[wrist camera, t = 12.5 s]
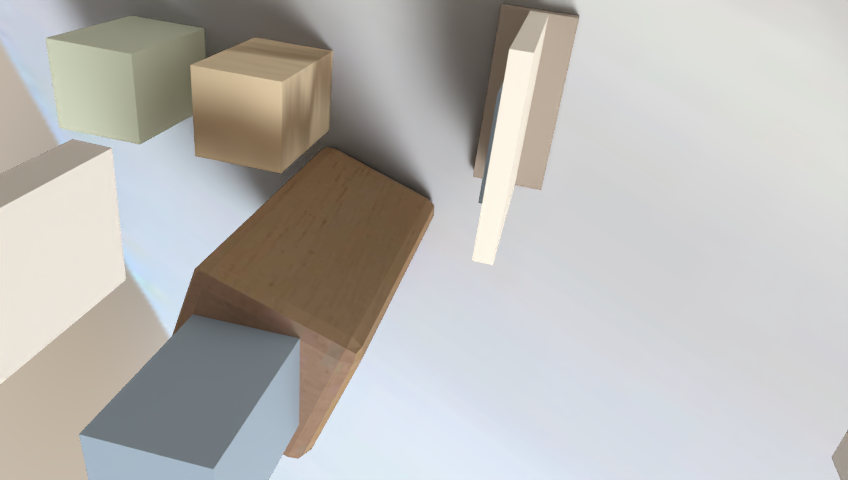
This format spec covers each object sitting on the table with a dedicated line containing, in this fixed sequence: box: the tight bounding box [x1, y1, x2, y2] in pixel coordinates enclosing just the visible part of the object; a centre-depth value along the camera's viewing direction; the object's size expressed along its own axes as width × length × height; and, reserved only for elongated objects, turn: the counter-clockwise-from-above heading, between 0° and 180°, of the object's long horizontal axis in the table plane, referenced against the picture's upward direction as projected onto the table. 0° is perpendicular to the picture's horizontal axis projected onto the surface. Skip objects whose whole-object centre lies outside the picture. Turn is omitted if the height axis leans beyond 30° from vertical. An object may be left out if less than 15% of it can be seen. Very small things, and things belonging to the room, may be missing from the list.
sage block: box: [46, 15, 206, 144], centre depth 47 cm, size 6×6×9 cm
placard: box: [472, 4, 579, 265], centre depth 41 cm, size 12×5×13 cm, turn 173°
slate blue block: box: [79, 315, 300, 480], centre depth 32 cm, size 6×6×9 cm
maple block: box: [190, 37, 333, 173], centre depth 46 cm, size 6×6×9 cm
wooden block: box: [172, 147, 434, 458], centre depth 45 cm, size 10×10×20 cm
